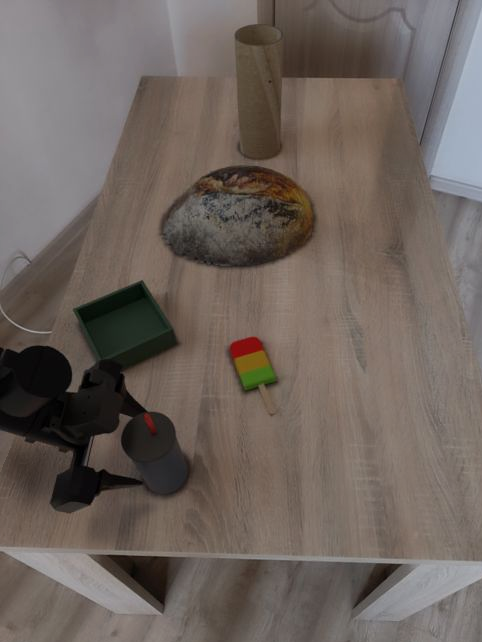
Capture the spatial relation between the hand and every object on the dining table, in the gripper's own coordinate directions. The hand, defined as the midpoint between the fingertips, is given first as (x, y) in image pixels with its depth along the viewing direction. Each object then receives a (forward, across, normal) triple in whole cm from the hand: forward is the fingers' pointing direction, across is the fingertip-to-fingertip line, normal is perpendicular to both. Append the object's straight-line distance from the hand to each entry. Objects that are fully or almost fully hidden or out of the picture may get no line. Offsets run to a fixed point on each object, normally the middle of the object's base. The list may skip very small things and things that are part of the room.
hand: (147, 450), depth 64 cm
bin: (0, +26, +12) cm, 28 cm away
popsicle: (+16, +16, -4) cm, 24 cm away
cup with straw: (+7, 0, +5) cm, 9 cm away
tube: (+16, +83, -4) cm, 85 cm away
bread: (+13, +56, -1) cm, 58 cm away
